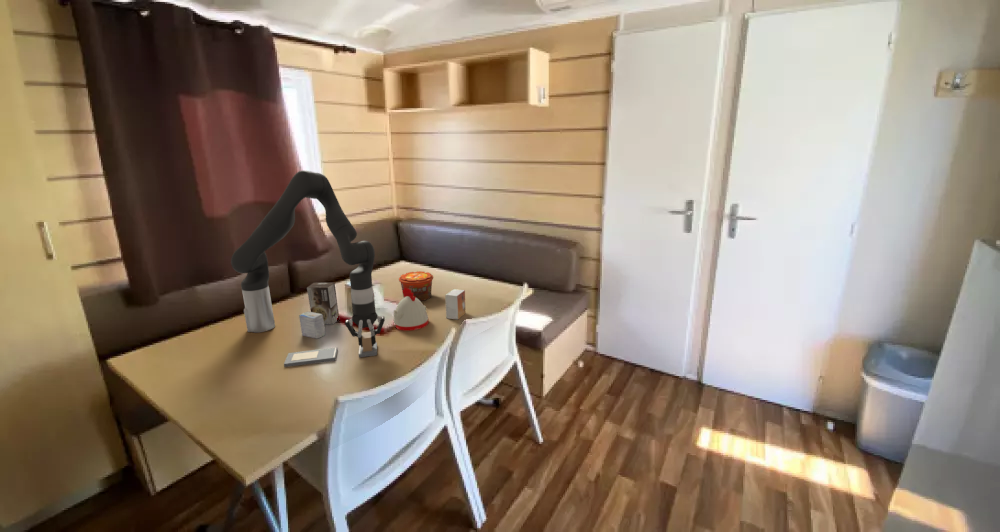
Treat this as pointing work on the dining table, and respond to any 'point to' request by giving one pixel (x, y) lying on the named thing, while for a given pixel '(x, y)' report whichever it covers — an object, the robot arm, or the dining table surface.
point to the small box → (455, 304)
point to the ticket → (310, 357)
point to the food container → (417, 284)
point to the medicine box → (312, 324)
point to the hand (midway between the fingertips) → (367, 345)
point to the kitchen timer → (410, 313)
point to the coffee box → (324, 301)
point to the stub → (367, 346)
